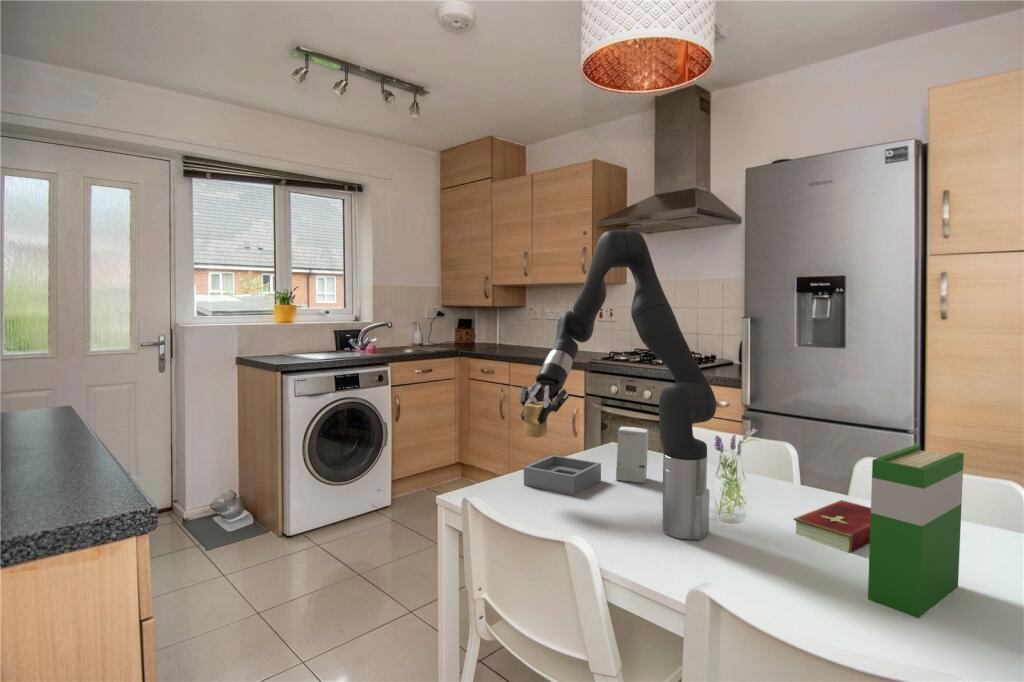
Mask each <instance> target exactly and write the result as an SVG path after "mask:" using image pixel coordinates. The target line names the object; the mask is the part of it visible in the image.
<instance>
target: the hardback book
mask: <svg viewBox="0 0 1024 682" xmlns="http://www.w3.org/2000/svg"><path fill="white" fill-rule="evenodd" d="M964 456H965V453H964V452H958V451H957V452H954V453H952V454H945V453H938V452H933V451H927V450H921V445H917V444H914V445H911V446H908V447H904V448H902V449H900V450H899V449H898V450H897V451H894V452H891V453H887V454H885V455H882V456H880V457H877V458H873V459H872V465H871V466H872V467H871V468H872V469H871V493H870V495H871V496H870V497H871V498H870V500H871V501H870V508H871V520H870V543H869V550H868V551H869V552H868V553H869V554H868V555H869V556H868V584H867V585H868V586H867V600H868V601H871V602H872V603H873V602H874V603H877V604H879V605H882V606H885V607H887V608H890V609H892V610H895V611H898V612H899V613H900V612H901V613H903V614H906V615H907V616H908V615H909V616H910V617H912V618H915V619H920V618H922V617H923V616H924V615H925V614H926V613H928V612H929V611H930V610H932V608H934V607H935V606H936V605H938V604H939V603H940V602H941V601H942V600H944V599H945V598H946V597H947V596H949V594H951V593H953V591H955V590H956V589H958V587H959V575H960V573H959V572H960V571H959V570H960V550H961V549H960V548H961V547H960V546H961V530H962V529H961V527H962V525H961V524H962V502H963V500H962V499H963V478H964V477H963V476H964V460H965V459H964Z"/></svg>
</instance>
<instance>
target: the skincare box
mask: <svg viewBox="0 0 1024 682" xmlns="http://www.w3.org/2000/svg"><path fill="white" fill-rule="evenodd" d="M649 431H650V430H649V429H648V428H640V427H633V426H620V427H619V428H618V432H617V433H618V434H617V447H616V448H617V452H616V467H615V469H616V472H615V475H616V476H615V479H616V481H618V480H621V481H622V482H629V481H631V483H640V484H644V483H645V481H646V480H645V479H647V470H648V469H647V468H648V449H649V448H648V447H649Z"/></svg>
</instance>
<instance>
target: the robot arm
mask: <svg viewBox="0 0 1024 682" xmlns="http://www.w3.org/2000/svg"><path fill="white" fill-rule="evenodd" d="M594 249H595V250H594V253H593V255H592V259H591V261H590V266H589V269H588V273H587V275H586V276H587V277H586V278H585V282H584V284H583V286H582V288H581V290H580V293H579V294H578V296H577V298H576V300H575V302H574V304H573V306H572V311H571V310H567V311H565V312H563V313H561V315H560V316H559V318H558V320H557V326H556V327H557V328H556V336H555V339H554V340H555V341H554V342H553V345H552V346H551V347H552V348H551V349H550V351H549V353H548V354H547V356H546V357H545V360H544V361H543V363H542V365H541V367H540V370H539V372H538V373H537V376H536V380H535V383H533V384H532V386H527V385H523V386H522V388H521V393H520V394H521V395H520V399H519V403H520V404H521V405H522V411H521V413H520V419H521V420H522V421H523V423H524V405H527V404H531V403H537V404H540V403H541V402H543V404H544V408H542V410H541V412H540V414H539V417H538V418H537V421H538V422H539V424H543V422H545V421H546V419H547V420H548V416H549V414H550V413H552V412H554V413H556V412H558V411H559V410H560V409H561V407H562V406H563V405H564V404H565V402H566V401H567V400H568V398H569V394H568V392H567V390H566V389H563V387H564V385H565V383H566V380H567V379H568V376H569V374H570V372H571V370H572V366H573V362H574V361H575V358H576V357H577V354H578V352H579V346H578V343H586V342H588V341H589V340H590V339H591V338H592V336H593V333H594V328H595V321H596V319H597V317H598V313H599V312H600V310H601V308H602V307H603V305H604V303H605V301H606V300H607V299H606V298H607V287H606V283H605V282H606V281H605V277H606V275H607V274H608V272H609V271H610V270H611V269H612V268H614V269H616V268H628V269H629V270H630V272H631V275H632V276H633V280H634V283H635V290H634V295H633V300H632V303H631V308H630V309H631V311H630V314H631V318H632V322H633V324H634V326H635V329H636V331H637V335H638V336H639V338H640V340H641V342H642V343H643V345H645V347H646V348H647V349H648V350H649V351H650V352H651V353H653V355H654V356H656V358H658V359H659V361H661V362H662V364H664V366H665V367H666V368H668V370H669V371H670V373H671V375H672V377H673V379H674V381H675V382H672V383H669V384H667V385H666V386H663V389H661V392H660V395H659V400H658V417H659V438H660V442H661V445H662V449H663V450H662V451H663V452H662V453H663V454H662V520H661V521H662V522H661V523H662V525H661V526H662V532H663V533H664V534H666V535H667V536H670V537H672V538H676V539H682V540H697V541H702V540H703V538H704V537H706V535H707V534H708V533H709V532H710V489H709V488H707V487H708V486H707V483H708V482H707V480H708V477H707V475H708V474H707V473H708V445H707V443H706V442H704V441H703V440H701V439H698V438H695V437H694V436H695V435H694V430H693V425H695V424H701V423H706V422H708V421H711V420H712V419H713V418H714V416H715V414H716V412H717V411H716V410H717V398H716V396H715V393H714V390H713V389H712V387H711V385H710V383H709V382H708V380H707V378H706V376H705V375H704V372H703V371H702V369H701V368H700V366H699V364H698V363H697V361H696V359H695V357H694V356H693V354H692V351H691V349H690V347H689V345H688V343H687V341H686V338H685V337H684V335H683V332H682V330H681V328H680V326H679V323H678V320H677V317H676V316H675V314H674V311H673V309H672V306H671V305H670V303H669V300H668V299H667V297H666V294H665V292H664V289H663V287H662V284H661V282H660V280H659V277H658V275H657V271H656V269H655V266H654V263H653V261H652V260H653V259H652V257H651V253H650V250H649V248H648V245H647V242H646V239H645V238H644V236H643V235H642V234H641V232H639V231H637V230H633V229H615V230H613V229H612V230H611V229H610V230H608V231H605V232H604V233H603V234H601V236H600V238H599V240H598V242H597V244H596V246H595V248H594ZM576 341H577V342H578V343H577V342H576Z"/></svg>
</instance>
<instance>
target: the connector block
mask: <svg viewBox="0 0 1024 682" xmlns="http://www.w3.org/2000/svg"><path fill="white" fill-rule="evenodd" d="M542 408H544V403H539V404H537V403H532V402H531V404H527V405H524V407H523V409H524V422H523V436H524V437H530V438H535V439H539V438H542V437H544V436H547V435H548V418H547V419H546V421H545V422H543V424H539V422H538V421H537V418H538V417H539V414H540V412H541V410H542Z"/></svg>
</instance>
